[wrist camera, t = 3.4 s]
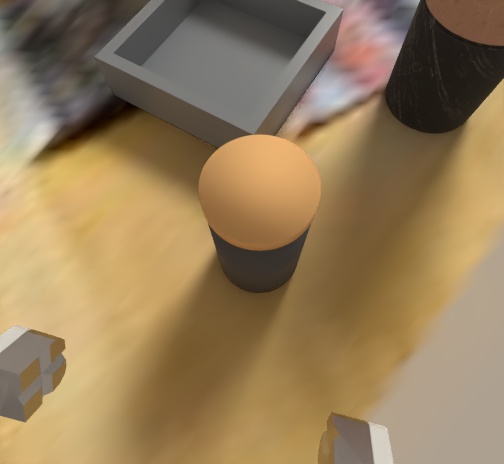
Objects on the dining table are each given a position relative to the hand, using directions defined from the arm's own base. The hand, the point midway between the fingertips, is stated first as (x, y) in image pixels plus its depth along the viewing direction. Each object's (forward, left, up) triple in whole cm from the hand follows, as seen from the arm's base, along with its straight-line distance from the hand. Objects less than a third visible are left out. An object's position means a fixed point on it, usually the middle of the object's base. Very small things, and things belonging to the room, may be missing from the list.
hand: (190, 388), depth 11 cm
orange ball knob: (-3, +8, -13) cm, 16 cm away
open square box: (-14, +21, -13) cm, 28 cm away
